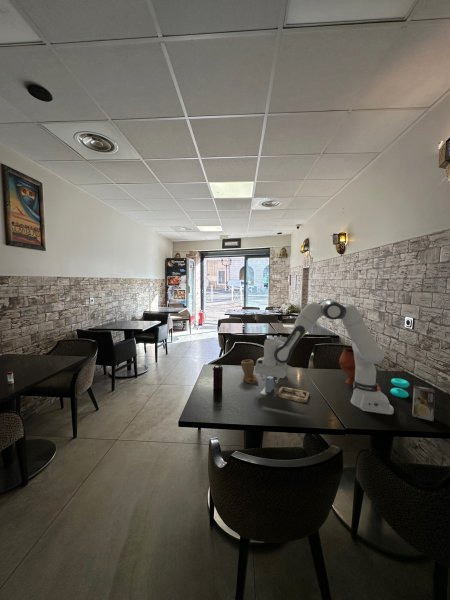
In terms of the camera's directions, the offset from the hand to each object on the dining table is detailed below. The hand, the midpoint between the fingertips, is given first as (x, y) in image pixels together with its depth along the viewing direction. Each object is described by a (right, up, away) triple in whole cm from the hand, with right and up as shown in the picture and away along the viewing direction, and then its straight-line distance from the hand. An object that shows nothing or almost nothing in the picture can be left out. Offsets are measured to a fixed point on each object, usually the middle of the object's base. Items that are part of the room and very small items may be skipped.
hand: (269, 381), depth 168 cm
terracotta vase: (+65, -8, +18) cm, 68 cm away
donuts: (+87, -9, +1) cm, 87 cm away
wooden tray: (+14, -8, -7) cm, 18 cm away
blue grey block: (0, -7, 0) cm, 6 cm away
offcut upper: (+18, -7, -9) cm, 21 cm away
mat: (0, -7, +1) cm, 7 cm away
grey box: (+11, -5, +33) cm, 35 cm away
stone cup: (-12, -6, +20) cm, 24 cm away
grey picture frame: (+81, -11, -27) cm, 86 cm away
